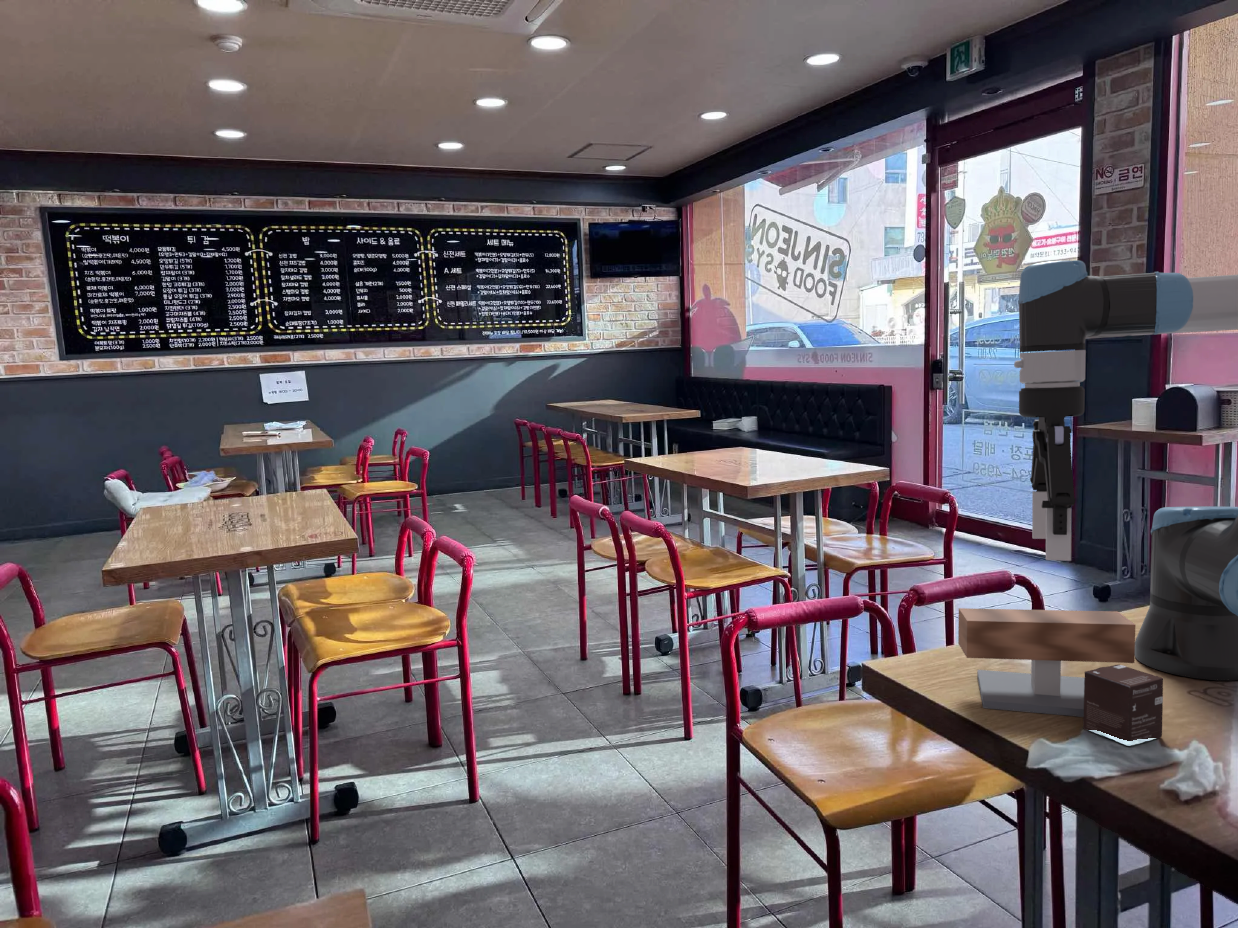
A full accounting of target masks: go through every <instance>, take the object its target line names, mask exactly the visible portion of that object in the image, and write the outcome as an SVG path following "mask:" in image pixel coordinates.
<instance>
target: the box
mask: <svg viewBox="0 0 1238 928" xmlns="http://www.w3.org/2000/svg"><path fill="white" fill-rule="evenodd" d="M1084 678H1085V679H1084V717H1082V719H1083V720H1082V721H1083V722H1082V723H1083V724H1082V725H1083V726H1082V728H1083V729H1084V730H1085V731H1087V730H1097V731H1101V732H1103V733H1106V734H1109V735H1111V736H1114V737H1117V738H1119V739H1123V740H1127V741H1133V740H1137V739H1148V738H1157V739H1161V738H1162V737H1163V707H1164V706H1163V705H1164V704H1163V702H1164V677H1161V676H1159V675H1155V674H1152V673H1148V672H1145V671H1142V670H1138V669H1135V668H1133V667H1129V666H1125V665H1123V664H1122V665H1121V664H1114V665H1110V666H1108V665H1107V666H1100V667H1097V668H1095V669H1094V668H1093V669H1091V670H1087V671H1086V670H1085V671H1084ZM1157 739H1156V740H1157Z"/></svg>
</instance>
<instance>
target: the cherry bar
mask: <svg viewBox="0 0 1238 928" xmlns="http://www.w3.org/2000/svg"><path fill="white" fill-rule="evenodd" d="M957 627H958V631H957V632H958V636H957V637H958V638H957V639H958V640H957V641H958V646H959V647H960V649H961V651H962V653H963V654H964V656H965V657H966V658H967V659H987V660H988V659H990V660H993V659H994V660H998V659H999V660H1018V661H1019V660H1021V661H1022V660H1024V661H1028V660H1029V661H1030V660H1050V661H1061V662H1062V661H1063V662H1084V663H1085V662H1086V663H1087V662H1088V663H1089V662H1090V663H1091V662H1092V663H1116V664H1117V663H1118V664H1119V663H1120V664H1135V659H1136V657H1135V641H1136V624H1135V622H1133V621H1132V620H1130V619H1128V618H1127V617H1126V616H1124V615H1123V614H1122V613H1121V612H1119V611H1114V610H1113V611H1109V610H1105V611H1104V610H1068V609H1067V610H1061V609H1060V610H1059V609H1058V610H1057V609H1054V610H1053V609H1018V608H1017V609H1013V608H1012V609H1011V608H1010V609H1009V608H1008V609H1007V608H1006V609H1005V608H965V607H962V608H961V607H959V608H958V626H957Z"/></svg>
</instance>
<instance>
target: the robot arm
mask: <svg viewBox="0 0 1238 928" xmlns="http://www.w3.org/2000/svg"><path fill="white" fill-rule="evenodd" d="M1018 288H1019V289H1018V290H1019V291H1018V292H1019V293H1018V300H1017V305H1018V316H1019V317H1018V320H1019V321H1018V324H1019V325H1018V326H1019V328H1018V329H1019V358H1020V360H1019V359H1018V360H1015V361H1014V364H1013V365H1014V368H1016V369H1019V383H1020V384H1024V387H1021V388H1020V390H1019V391H1018V413H1019V415H1020V416H1021V417H1024V418H1038V419H1034V421H1033V422H1032V423H1033V424H1032V425H1033V430H1032V435H1031V436H1032V443H1033V444H1032V459H1031V474H1030V477H1029V482H1030V483H1031V488H1032V494H1031V495H1032V497H1031V499H1032V500H1031V501H1032V502H1031V503H1032V509H1031V510H1032V513H1031V514H1032V516H1031V517H1032V518H1031V519H1032V520H1031V521H1032V525H1031V527H1032V529H1031V530H1032V532H1031V533H1032V536H1031V537H1032V539H1034V540H1036V539H1037V540H1038V539H1039V540H1045V560H1046V561H1066V562H1067V561H1070V562H1071V561H1072V508H1073V507H1072V506H1075V504H1076V498H1075V491H1074V489H1075V488H1074V487H1075V486H1074V477H1073V474H1074V473H1073V462H1072V461H1073V460H1072V447H1071V446H1072V445H1071V438H1072V437H1071V435H1072V428H1071V426H1069V425H1065V423H1066V422H1065V418H1066V417H1067V418H1068V417H1070V418H1071V417H1080V416H1082V415H1083V414H1084V413H1085V398H1086V397H1085V394H1086V393H1085V392H1086V391H1085V388H1084V387H1083V386H1080V385H1081V384H1080V383H1082V382H1085V380H1086V353H1087V351H1086V340H1090V339H1100V338H1101V339H1103V338H1116V337H1129V336H1145V335H1146V336H1149V335H1164V334H1165V335H1166V334H1181V333H1182V334H1183V333H1184V334H1186V333H1200V332H1219V331H1236V330H1238V274H1230V275H1229V274H1227V275H1212V276H1198V277H1195V276H1194V277H1187V276H1186V275H1184V274H1183V273H1179V272H1159V271H1154V272H1150V273H1149V272H1148V273H1145V272H1144V273H1132V274H1119V275H1117V274H1116V275H1106V276H1104V275H1103V276H1098V275H1097V276H1095V275H1088V272H1087V266H1086V263H1085V262H1084V261H1083V260H1079V259H1077V260H1076V259H1074V260H1070V259H1069V260H1051V261H1044V262H1038V263H1032V264H1030V265H1028V266H1026V267H1024V268H1023V270H1021V273H1020V279H1019V287H1018ZM1150 535H1151V544H1150V545H1151V546H1150V547H1151V551H1150V552H1151V553H1150V586H1149V587H1150V592H1149V593H1150V594H1149V595H1150V596H1149V597H1150V598H1149V607H1148V610H1147V612H1146V615H1145V617H1144V619H1143V622H1142V623H1141V627H1140V628H1139V631H1138V633H1137V636H1136V637H1135V659H1136V660H1137V661H1138V662H1140V663H1142V664H1143V665H1145V666H1147V667H1148V668H1152V669H1155V670H1157V671H1161V672H1164V673H1167V674H1171V675H1177V676H1181V677H1187V678H1192V679H1200V680H1209V681H1238V506H1219V505H1217V506H1214V505H1213V506H1209V505H1207V506H1205V505H1204V506H1167V507H1166V506H1165V507H1161V508H1158V510H1156V511H1155V512H1154V514H1153V519H1152V526H1151V529H1150Z"/></svg>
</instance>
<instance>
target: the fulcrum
mask: <svg viewBox="0 0 1238 928" xmlns="http://www.w3.org/2000/svg"><path fill="white" fill-rule="evenodd" d="M1030 663H1031V669H1030V671H1031V672H1030V673H1027V672H1014V671H1013V672H1012V671H1003V670H989V669H987V670H986V669H977V674H976V677H977V682H978V687H979V693H980V699H981V703H982V708H983V709H990V710H1002V711H1003V710H1004V711H1012V712H1023V713H1025V712H1026V713H1035V714H1046V715H1055V716H1056V715H1058V716H1068V717H1069V716H1070V717H1078V718H1080V717H1081V718H1083V717H1084V679H1085V677H1080V676H1069V675H1068V676H1067V675H1066V676H1065V675H1061V674H1062V670H1061V669H1062V661H1050V660H1031V662H1030Z"/></svg>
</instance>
